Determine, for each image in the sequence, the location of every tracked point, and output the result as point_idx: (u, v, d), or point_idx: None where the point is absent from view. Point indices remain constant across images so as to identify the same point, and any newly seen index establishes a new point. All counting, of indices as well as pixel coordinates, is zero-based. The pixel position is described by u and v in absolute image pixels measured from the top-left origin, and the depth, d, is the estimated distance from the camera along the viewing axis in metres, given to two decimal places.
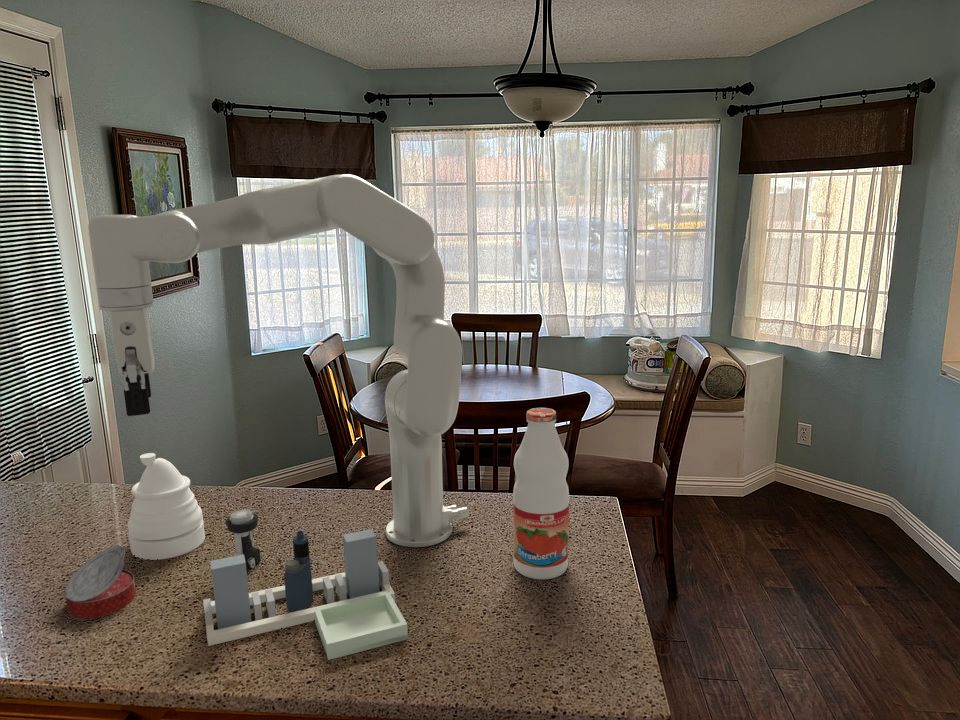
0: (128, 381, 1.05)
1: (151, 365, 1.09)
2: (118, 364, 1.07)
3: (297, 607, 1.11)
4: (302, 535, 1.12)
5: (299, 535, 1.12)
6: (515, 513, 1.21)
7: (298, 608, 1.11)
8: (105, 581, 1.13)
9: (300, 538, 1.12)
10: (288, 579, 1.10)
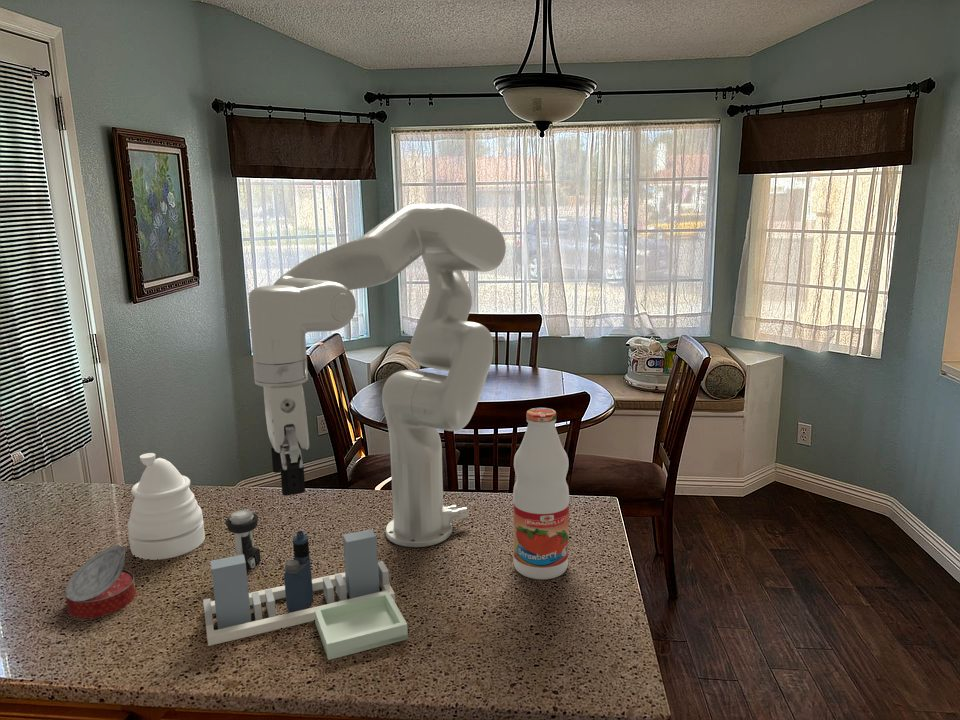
0: (289, 461, 1.01)
1: (308, 442, 1.04)
2: (276, 442, 1.02)
3: (297, 607, 1.11)
4: (302, 535, 1.12)
5: (299, 535, 1.12)
6: (515, 513, 1.21)
7: (298, 608, 1.11)
8: (105, 581, 1.13)
9: (300, 538, 1.12)
10: (288, 579, 1.10)
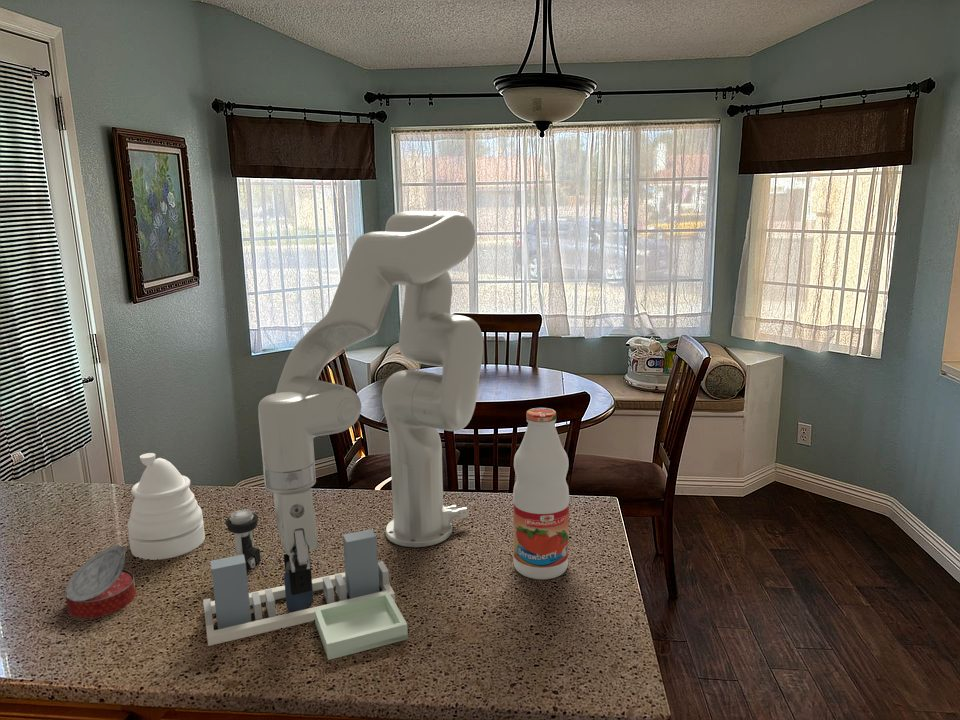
0: (297, 566, 1.07)
1: (317, 544, 1.08)
2: (286, 546, 1.06)
3: (297, 607, 1.11)
4: None
5: None
6: (515, 513, 1.21)
7: (298, 608, 1.11)
8: (105, 581, 1.13)
9: None
10: (288, 579, 1.10)
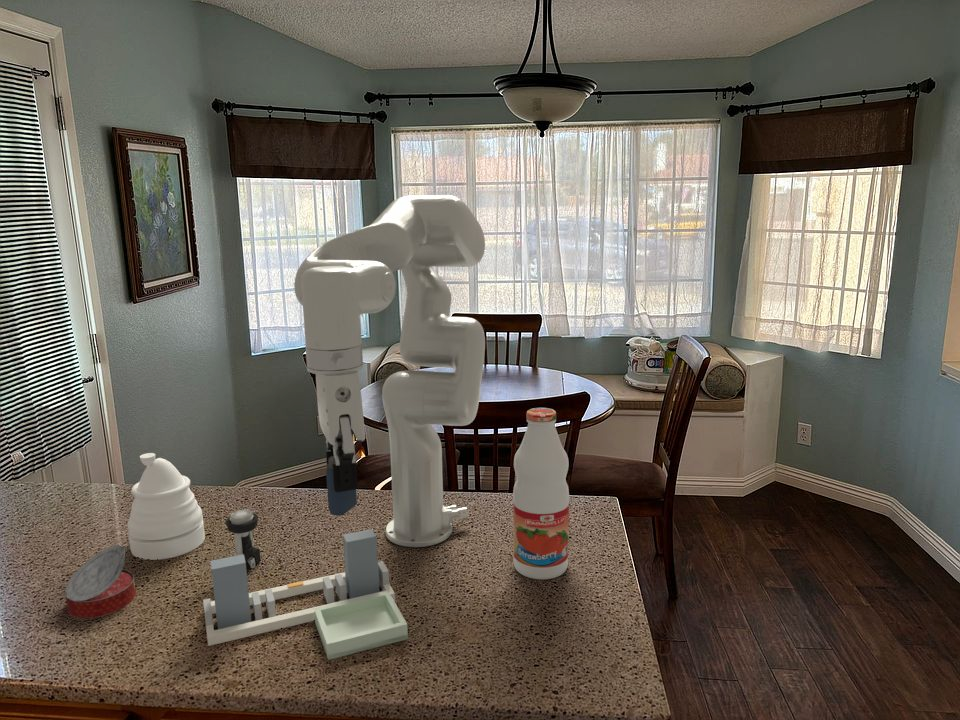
0: (342, 457, 0.96)
1: (364, 434, 0.97)
2: (331, 434, 0.96)
3: (340, 507, 1.01)
4: None
5: None
6: (515, 513, 1.21)
7: (341, 508, 1.01)
8: (105, 580, 1.13)
9: None
10: (331, 475, 1.00)
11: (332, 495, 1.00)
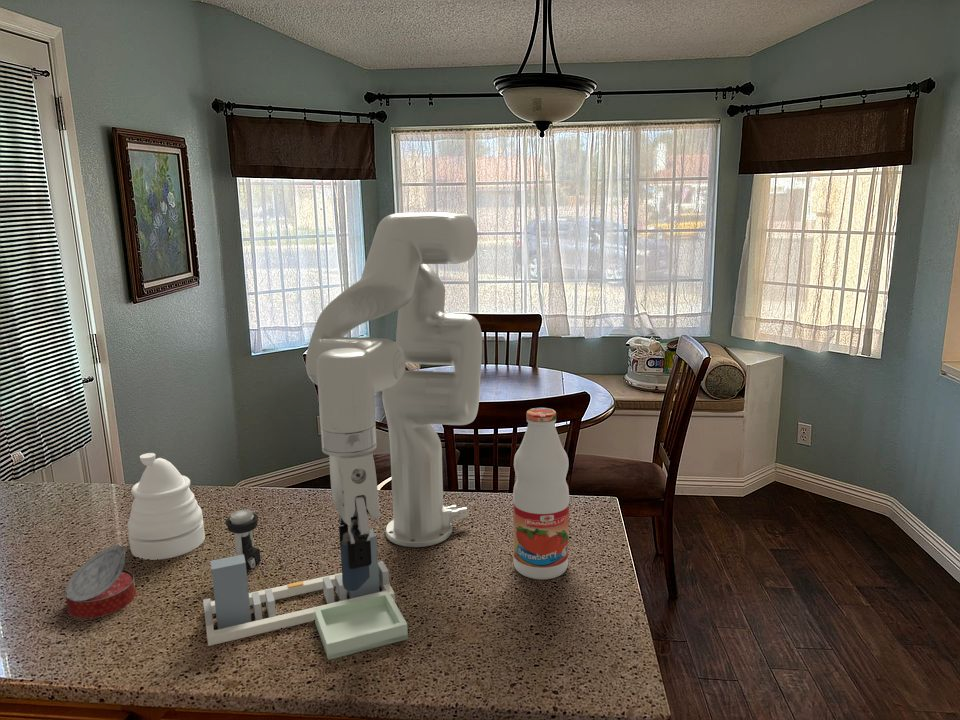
0: (358, 536, 0.98)
1: (379, 513, 0.99)
2: (347, 514, 0.97)
3: (354, 583, 1.03)
4: None
5: None
6: (515, 513, 1.21)
7: (355, 584, 1.03)
8: (106, 580, 1.13)
9: None
10: (345, 552, 1.01)
11: (346, 571, 1.02)
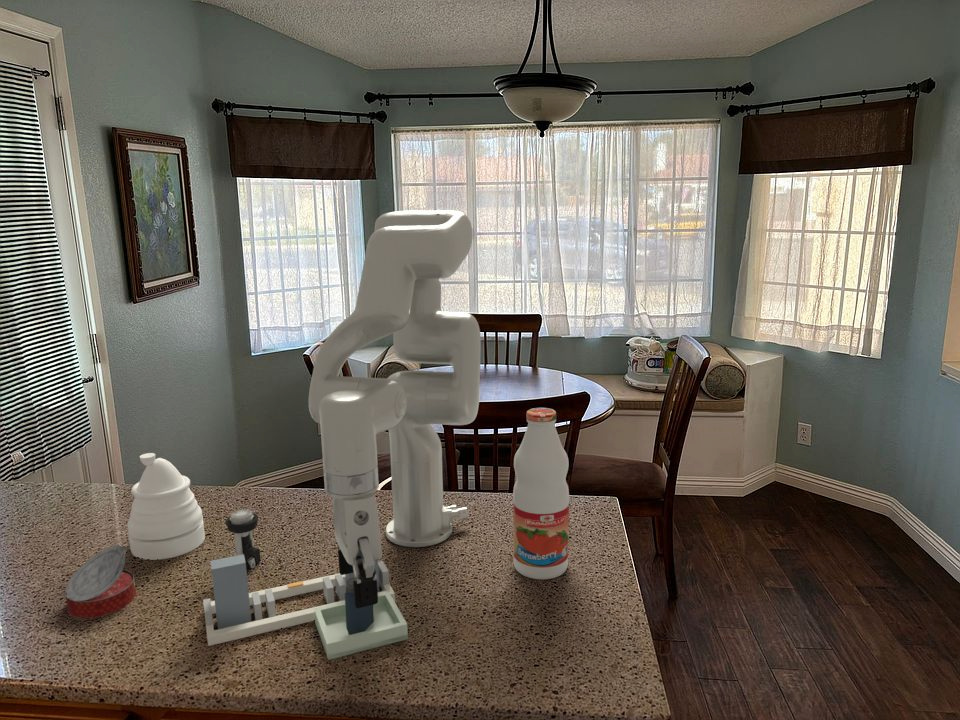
0: (364, 577, 0.97)
1: (381, 553, 1.01)
2: (350, 555, 0.99)
3: (358, 629, 1.04)
4: None
5: None
6: (515, 513, 1.21)
7: (359, 630, 1.04)
8: (106, 580, 1.13)
9: None
10: (349, 599, 1.03)
11: (350, 617, 1.04)
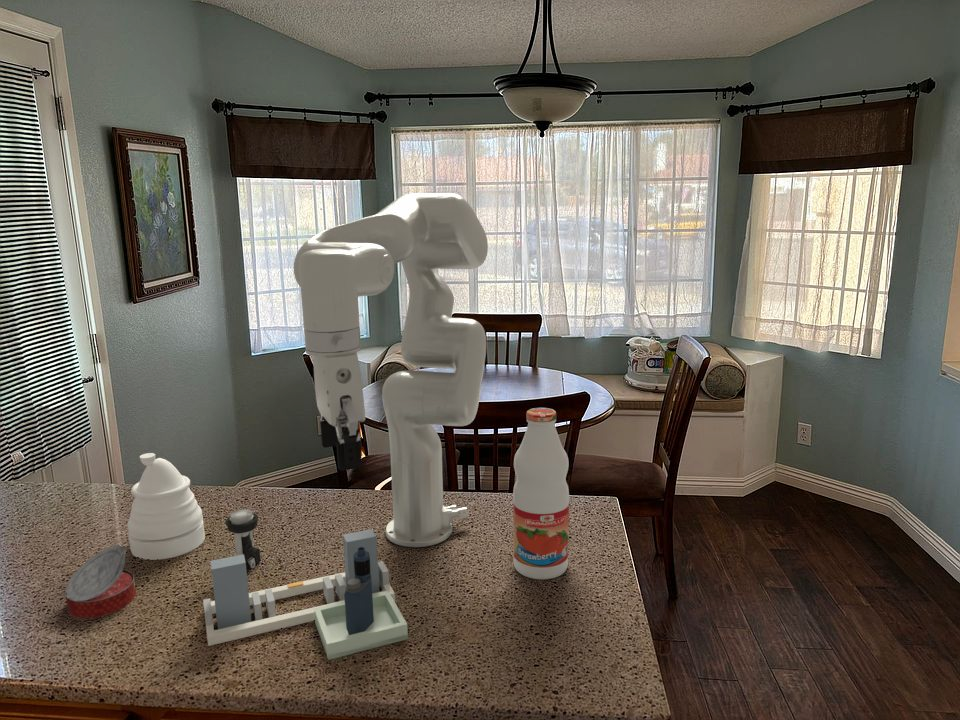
0: (347, 434, 0.95)
1: (364, 414, 0.99)
2: (332, 415, 0.97)
3: (358, 629, 1.04)
4: (363, 552, 1.05)
5: (360, 552, 1.05)
6: (515, 513, 1.21)
7: (359, 630, 1.04)
8: (106, 580, 1.13)
9: (361, 555, 1.05)
10: (349, 599, 1.03)
11: (350, 617, 1.04)
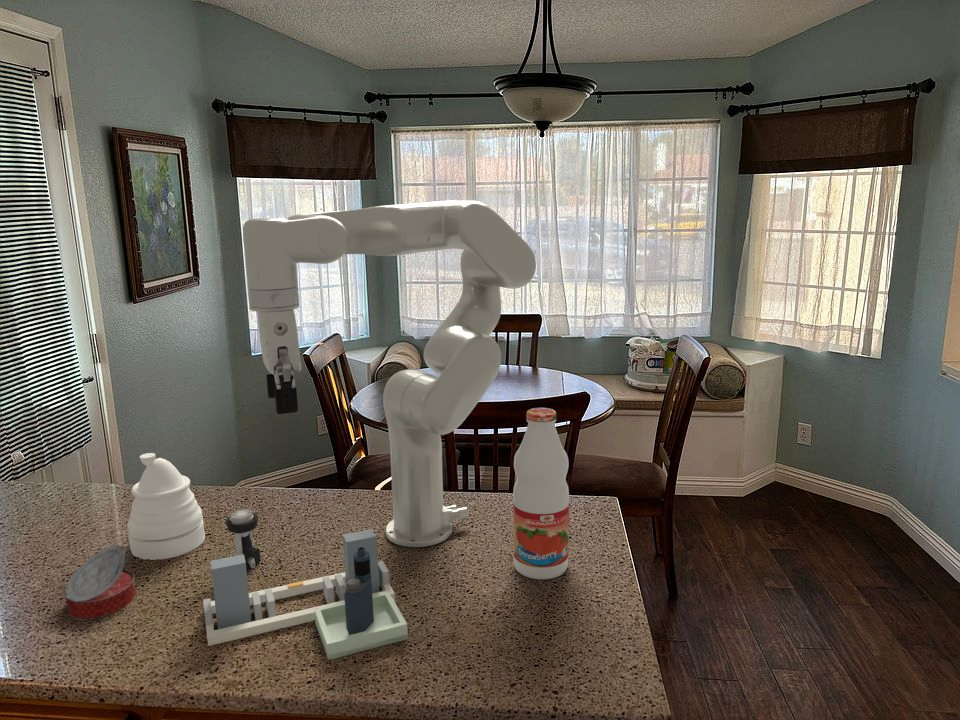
0: (282, 380, 1.08)
1: (300, 364, 1.11)
2: (270, 363, 1.10)
3: (358, 629, 1.04)
4: (363, 552, 1.05)
5: (360, 552, 1.05)
6: (515, 513, 1.21)
7: (359, 630, 1.04)
8: (106, 580, 1.13)
9: (361, 555, 1.05)
10: (349, 599, 1.03)
11: (350, 617, 1.04)
